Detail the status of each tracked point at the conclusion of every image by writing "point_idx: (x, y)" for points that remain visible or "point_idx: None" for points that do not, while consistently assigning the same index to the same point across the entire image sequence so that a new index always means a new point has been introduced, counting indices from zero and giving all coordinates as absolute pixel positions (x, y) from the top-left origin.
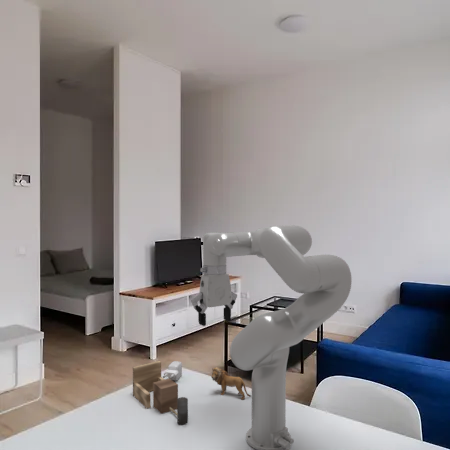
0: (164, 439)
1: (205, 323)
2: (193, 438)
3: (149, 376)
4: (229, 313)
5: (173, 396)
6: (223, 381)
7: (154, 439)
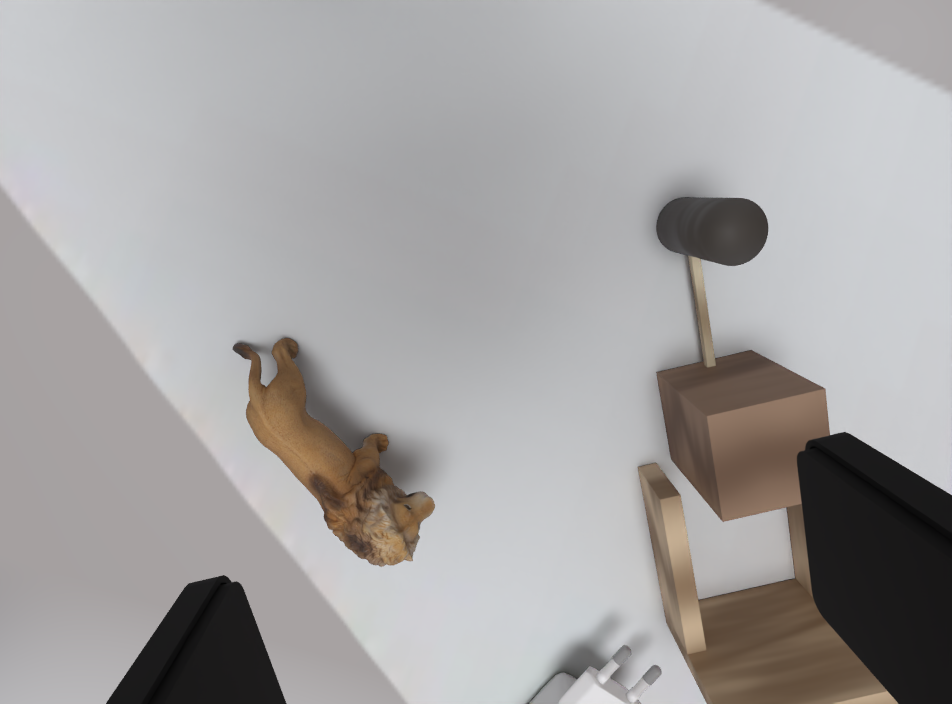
0: (821, 96)
1: (836, 452)
2: (689, 45)
3: (769, 651)
4: (144, 694)
5: (710, 387)
6: (364, 465)
7: (864, 116)
